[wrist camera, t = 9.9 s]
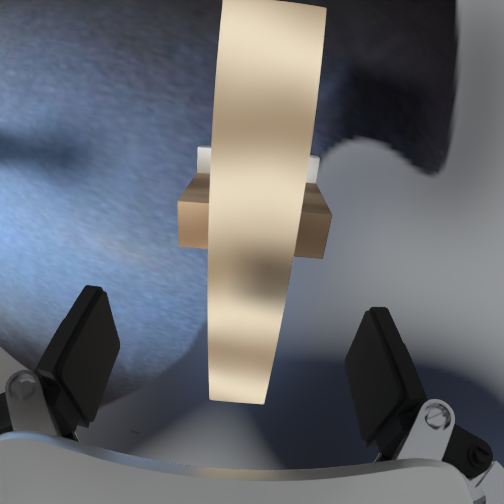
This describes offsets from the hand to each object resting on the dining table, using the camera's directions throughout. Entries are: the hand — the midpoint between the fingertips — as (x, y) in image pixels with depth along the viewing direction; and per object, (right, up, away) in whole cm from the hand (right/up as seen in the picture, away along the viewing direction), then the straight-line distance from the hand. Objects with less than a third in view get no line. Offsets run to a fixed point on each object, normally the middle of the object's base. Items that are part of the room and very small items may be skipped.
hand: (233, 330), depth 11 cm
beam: (+1, +4, +8) cm, 9 cm away
